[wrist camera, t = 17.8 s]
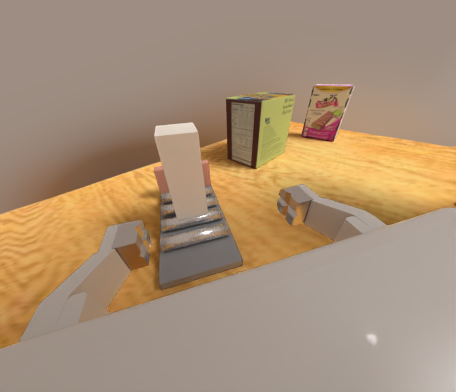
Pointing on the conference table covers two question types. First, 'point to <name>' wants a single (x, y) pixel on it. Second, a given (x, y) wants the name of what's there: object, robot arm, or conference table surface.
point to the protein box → (258, 126)
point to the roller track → (197, 256)
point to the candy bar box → (326, 111)
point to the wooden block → (182, 168)
